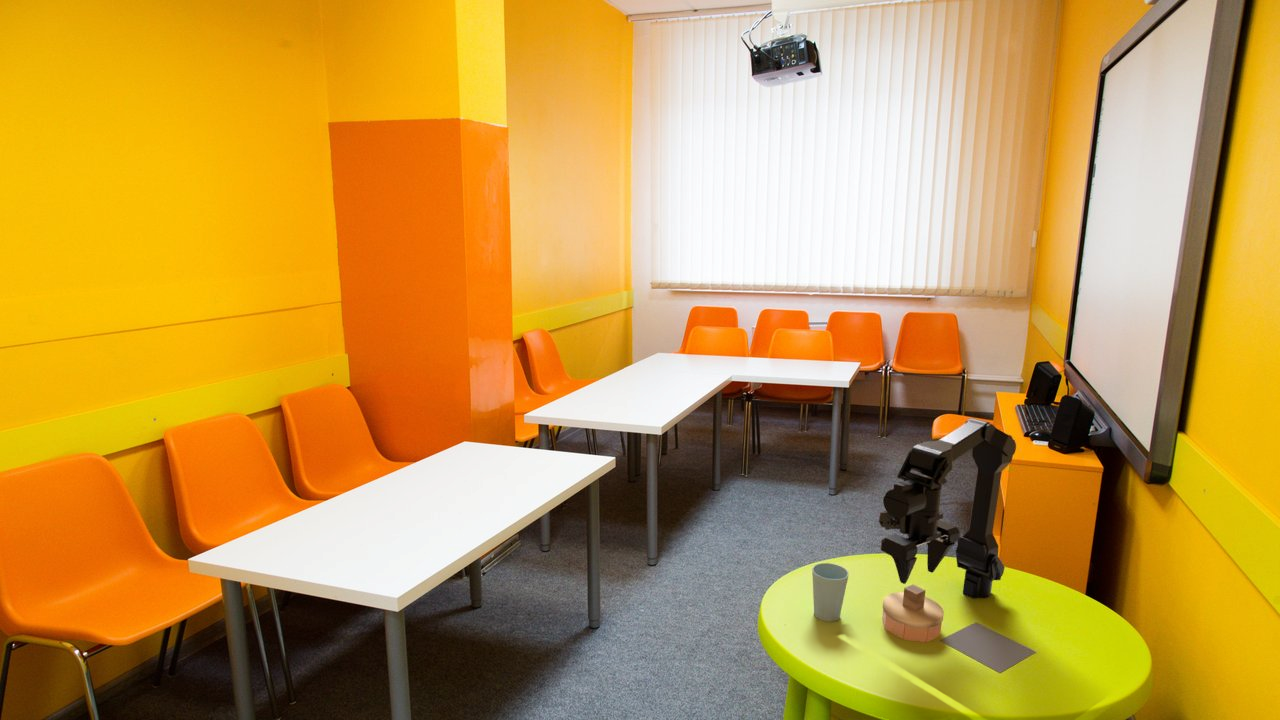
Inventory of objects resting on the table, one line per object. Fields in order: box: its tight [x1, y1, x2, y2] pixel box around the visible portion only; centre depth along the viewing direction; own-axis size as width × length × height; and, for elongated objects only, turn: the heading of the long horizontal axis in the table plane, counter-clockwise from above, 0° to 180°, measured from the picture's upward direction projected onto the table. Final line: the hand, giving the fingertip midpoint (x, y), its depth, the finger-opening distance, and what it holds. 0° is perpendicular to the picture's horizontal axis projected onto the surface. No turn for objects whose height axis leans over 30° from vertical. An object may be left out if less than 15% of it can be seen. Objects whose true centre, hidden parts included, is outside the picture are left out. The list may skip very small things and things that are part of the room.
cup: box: [811, 562, 850, 622], centre depth 162 cm, size 8×8×10 cm
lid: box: [882, 583, 945, 628], centre depth 156 cm, size 12×12×5 cm
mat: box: [939, 621, 1037, 674], centre depth 150 cm, size 13×13×1 cm
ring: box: [881, 609, 943, 643], centre depth 157 cm, size 11×11×4 cm
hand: (916, 577), depth 155 cm, fingers open, 9 cm apart
